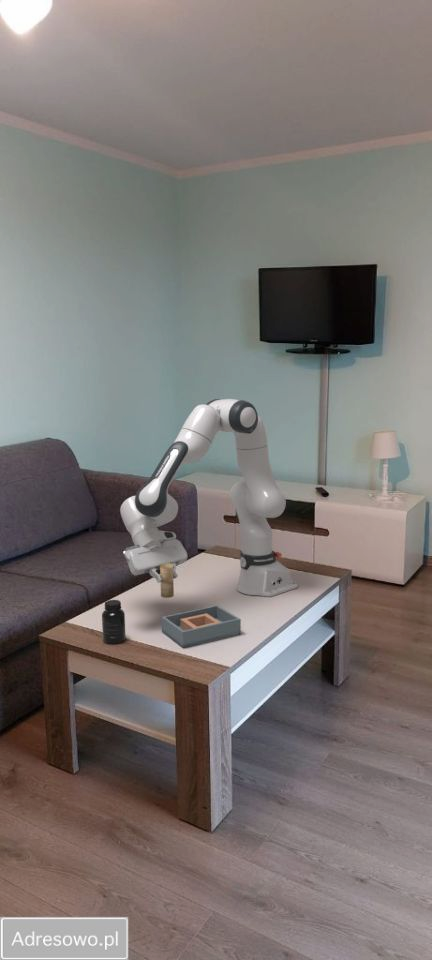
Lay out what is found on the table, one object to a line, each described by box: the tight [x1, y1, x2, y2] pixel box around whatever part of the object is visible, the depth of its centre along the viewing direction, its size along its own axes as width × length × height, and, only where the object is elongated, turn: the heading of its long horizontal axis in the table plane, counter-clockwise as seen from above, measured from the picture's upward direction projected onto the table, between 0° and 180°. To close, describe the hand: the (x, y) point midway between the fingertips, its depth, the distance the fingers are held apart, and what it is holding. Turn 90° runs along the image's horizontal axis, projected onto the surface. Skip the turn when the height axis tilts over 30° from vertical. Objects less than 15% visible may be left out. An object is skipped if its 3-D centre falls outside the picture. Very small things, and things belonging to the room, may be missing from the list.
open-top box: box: [161, 604, 242, 649], centre depth 223 cm, size 20×14×5 cm
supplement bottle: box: [101, 599, 126, 645], centre depth 218 cm, size 7×7×12 cm
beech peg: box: [159, 563, 175, 599], centre depth 225 cm, size 4×4×10 cm
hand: (168, 579), depth 225 cm, fingers closed on beech peg, 4 cm apart
